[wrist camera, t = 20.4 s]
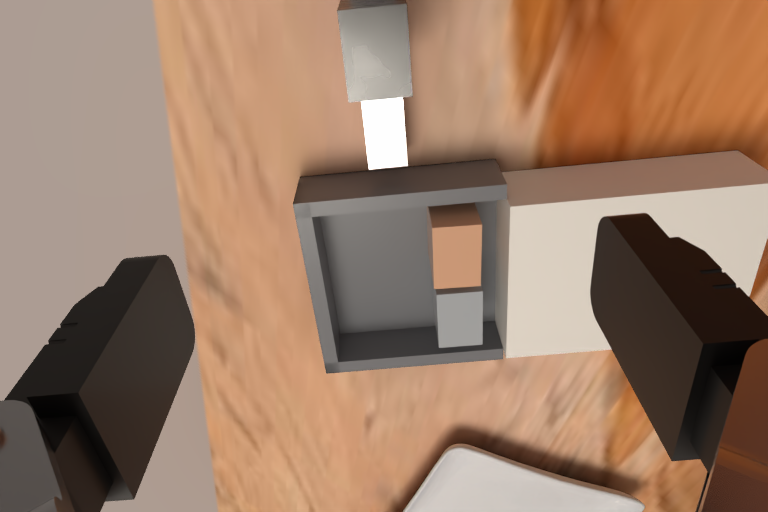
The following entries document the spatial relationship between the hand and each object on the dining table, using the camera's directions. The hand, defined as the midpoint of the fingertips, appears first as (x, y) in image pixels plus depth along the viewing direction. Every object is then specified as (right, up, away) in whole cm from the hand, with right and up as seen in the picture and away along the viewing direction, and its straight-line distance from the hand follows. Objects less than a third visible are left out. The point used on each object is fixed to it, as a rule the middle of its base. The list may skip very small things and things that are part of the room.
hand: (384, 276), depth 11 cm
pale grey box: (+7, -3, +29) cm, 30 cm away
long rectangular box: (+16, +2, +30) cm, 34 cm away
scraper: (-1, +14, +22) cm, 26 cm away
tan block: (+6, +2, +26) cm, 27 cm away
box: (+2, 0, +31) cm, 31 cm away
